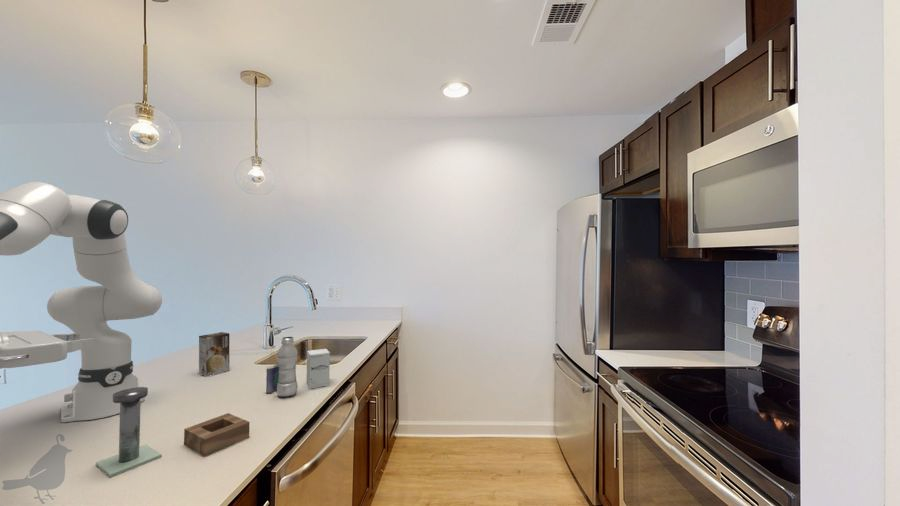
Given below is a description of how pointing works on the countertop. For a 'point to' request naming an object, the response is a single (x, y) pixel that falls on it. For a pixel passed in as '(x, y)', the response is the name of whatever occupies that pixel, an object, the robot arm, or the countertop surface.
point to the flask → (272, 378)
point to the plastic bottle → (287, 368)
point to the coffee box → (213, 353)
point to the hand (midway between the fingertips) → (86, 339)
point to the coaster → (115, 467)
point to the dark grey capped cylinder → (129, 422)
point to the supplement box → (318, 368)
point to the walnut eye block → (216, 434)
